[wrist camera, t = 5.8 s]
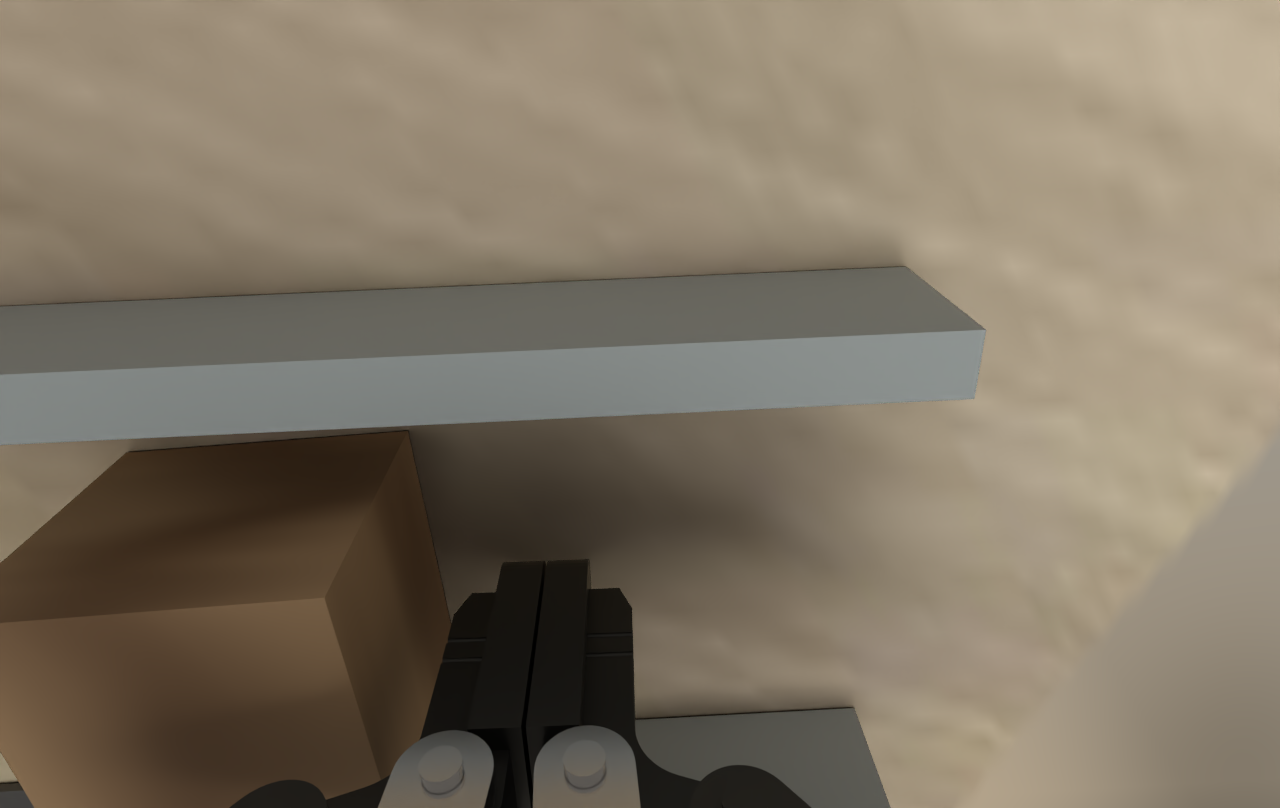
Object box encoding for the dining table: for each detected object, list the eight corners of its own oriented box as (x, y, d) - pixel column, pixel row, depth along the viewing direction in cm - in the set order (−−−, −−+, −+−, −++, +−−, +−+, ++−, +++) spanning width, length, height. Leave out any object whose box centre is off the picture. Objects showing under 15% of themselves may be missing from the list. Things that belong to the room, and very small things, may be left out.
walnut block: (408, 430, 14) (324, 597, 10) (455, 645, 16) (404, 854, 12) (126, 452, 14) (-75, 629, 10) (213, 663, 16) (78, 879, 12)
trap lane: (906, 266, 13) (986, 329, 10) (836, 854, 19) (874, 988, 17) (-524, 329, 12) (-840, 412, 10) (-102, 909, 19) (-219, 1055, 16)
